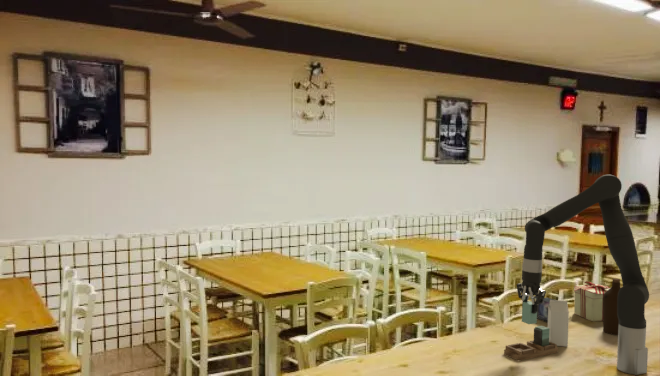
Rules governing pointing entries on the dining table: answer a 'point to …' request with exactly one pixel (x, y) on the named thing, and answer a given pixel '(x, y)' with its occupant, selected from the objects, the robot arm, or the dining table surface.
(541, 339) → the walnut rail
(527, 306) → the teal rectangular block
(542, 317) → the small box
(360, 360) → the dining table surface
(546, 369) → the dining table surface
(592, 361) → the dining table surface
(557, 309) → the milk carton
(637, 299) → the robot arm
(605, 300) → the olive oil
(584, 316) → the gift box
